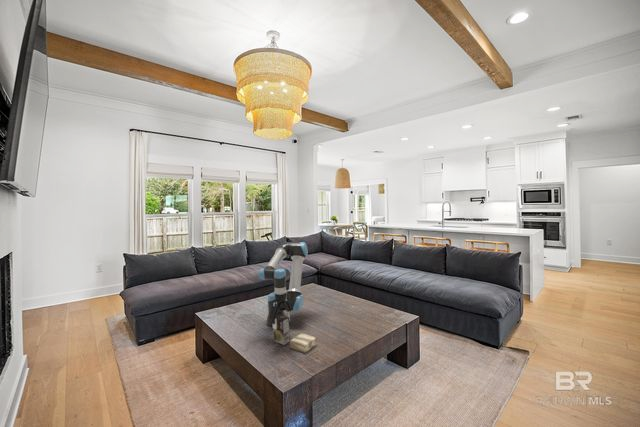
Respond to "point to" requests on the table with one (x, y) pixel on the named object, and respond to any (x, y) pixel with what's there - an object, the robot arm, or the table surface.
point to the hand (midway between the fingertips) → (281, 324)
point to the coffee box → (282, 330)
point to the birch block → (303, 342)
